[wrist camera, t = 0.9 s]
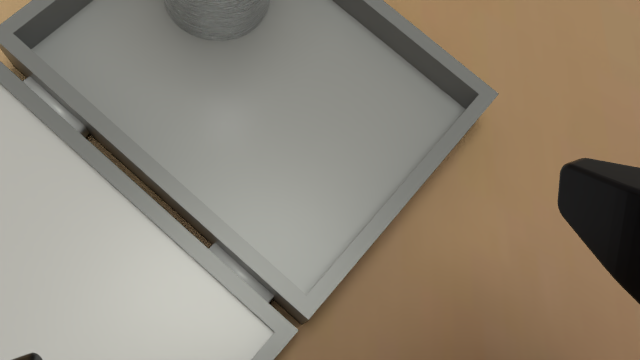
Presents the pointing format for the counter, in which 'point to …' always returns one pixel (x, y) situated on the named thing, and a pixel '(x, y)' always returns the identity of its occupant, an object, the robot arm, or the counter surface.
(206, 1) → the grey cylinder
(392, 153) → the case
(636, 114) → the counter surface
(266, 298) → the lid
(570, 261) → the counter surface
